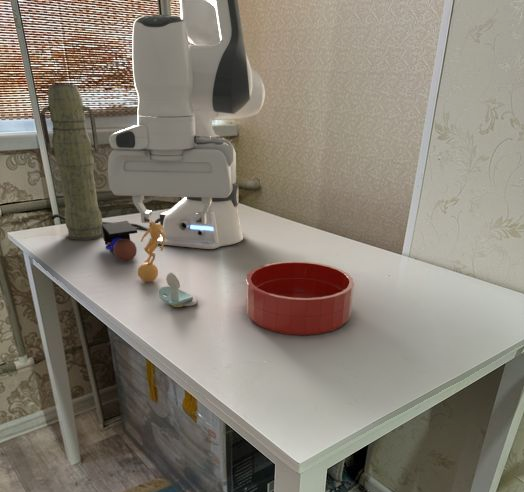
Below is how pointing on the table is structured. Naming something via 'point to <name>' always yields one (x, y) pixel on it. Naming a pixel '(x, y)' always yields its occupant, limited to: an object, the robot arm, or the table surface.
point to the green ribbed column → (74, 159)
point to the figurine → (148, 269)
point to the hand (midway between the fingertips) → (174, 222)
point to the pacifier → (175, 293)
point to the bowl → (299, 297)
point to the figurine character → (119, 239)
